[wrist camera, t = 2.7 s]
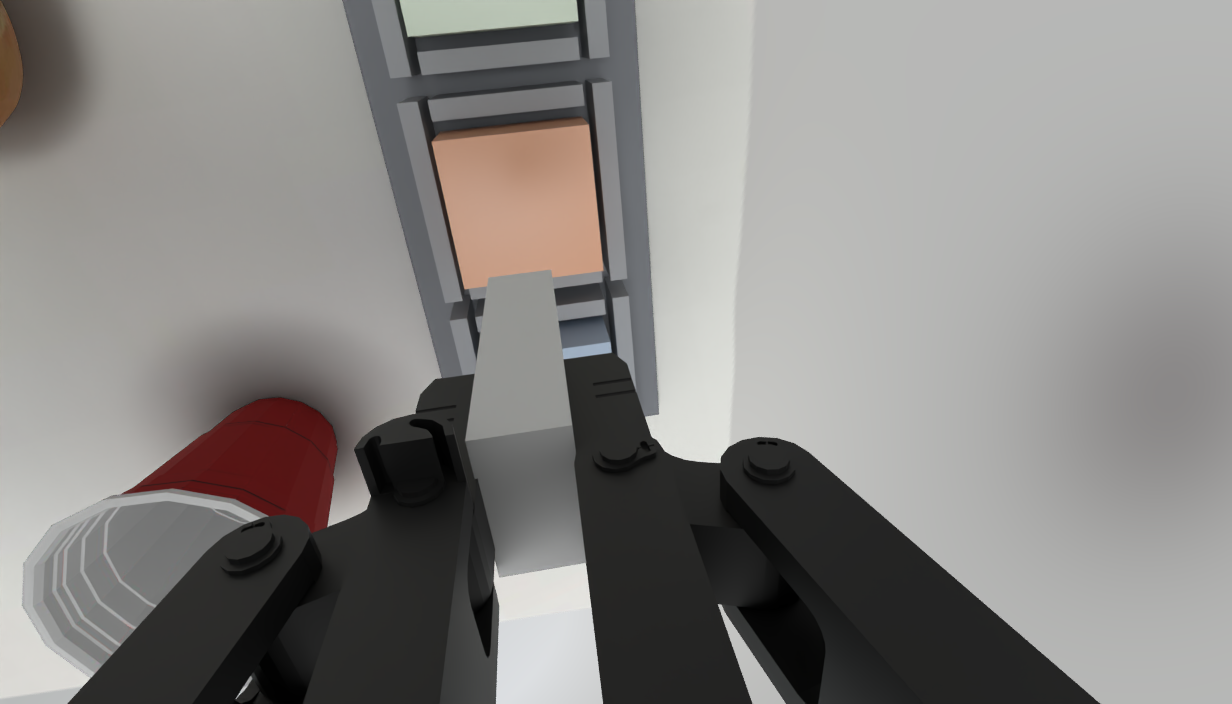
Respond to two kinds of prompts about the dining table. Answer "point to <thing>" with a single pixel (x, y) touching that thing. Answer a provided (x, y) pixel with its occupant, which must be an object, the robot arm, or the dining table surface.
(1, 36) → the onion
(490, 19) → the button sage
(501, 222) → the button terracotta
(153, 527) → the plastic cup
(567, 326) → the button slate
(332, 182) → the dining table surface
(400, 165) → the console
